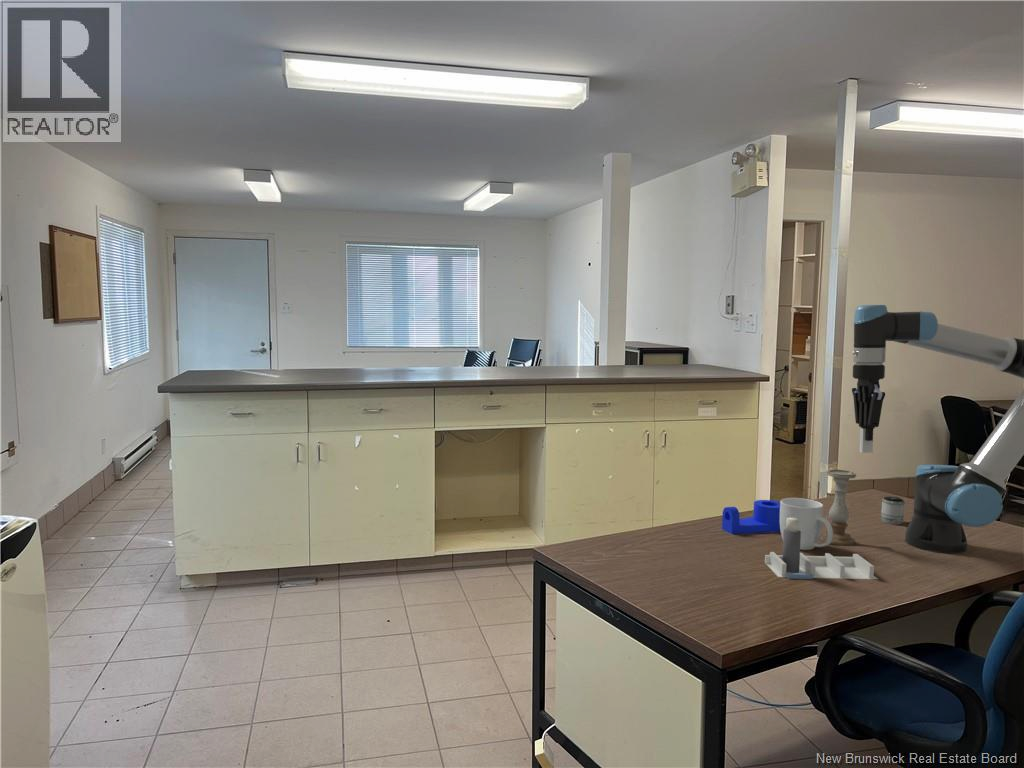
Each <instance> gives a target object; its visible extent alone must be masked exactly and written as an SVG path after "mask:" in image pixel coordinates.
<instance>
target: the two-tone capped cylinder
mask: <svg viewBox="0 0 1024 768" xmlns="http://www.w3.org/2000/svg"><path fill="white" fill-rule="evenodd" d="M798 525H799V519H797V518H787V521H786V529H784V532H783V539H782V555H783V557H782V560H783V561H784V562H785V563H786V564H787V565H786V572H790V573H797V572H799V565H800V553H801V550H800V541H801V531H799V530H798Z"/></svg>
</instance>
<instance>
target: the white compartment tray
mask: <svg viewBox="0 0 1024 768" xmlns="http://www.w3.org/2000/svg"><path fill="white" fill-rule="evenodd" d="M764 556H765V557H764V564H766V566H767V567H768V568H769V569H770V570H771V571H772V572H773V573H774V574H775V575H776V576H777V578H786V579H791V580H792V579H795V580H796V579H797V580H813V579H842V580H843V579H844V580H845V579H847V580H849V579H850V580H852V579H853V580H879V578H877V577H876V576H875V575H874V573H875V565H873V564H872V563H870V561H867V560H866V559H864V558H863V556H860V554H858V553H852V556H833V555H832V554H831V553H829V552H828V553H827V552H825V554H824V555H822V556H821V555H805V554H804V553H803V552H800V565H799V572H797V573H790V572H786V565H787V564H786V563H785V562H784V561H783V560H782V557H783V554H780V555H779V554H778V555H777V554H776V553H775V552H774V551H770V552H769V554H764Z"/></svg>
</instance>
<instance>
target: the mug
mask: <svg viewBox="0 0 1024 768" xmlns="http://www.w3.org/2000/svg"><path fill="white" fill-rule="evenodd" d="M779 502H780V530H781V531H780V535H781V539H782V540H783V532H784V529H786V521H787V518H797V519H799V525H798V530H799V531H801V541H800V551H801V550H803V551H806V550H807V551H810V550H813V549H815V548H823V547H827V546H828V545H831V544H830V542H831V541H832V538H833V530H832V526H831V524H830V522H831V521H830V520H828V519H827V518H825V517H824V505H823V503H821V502H819V501H816V500H813V499H808V498H802V497H788V498H787V497H785V498H781V499H780V501H779ZM823 525H825V527H826V530H827V531H826V532H828V537H827V540H826V542H823V543H819V540H820V538H821V535H822V530H823V529H822V528H823Z"/></svg>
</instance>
